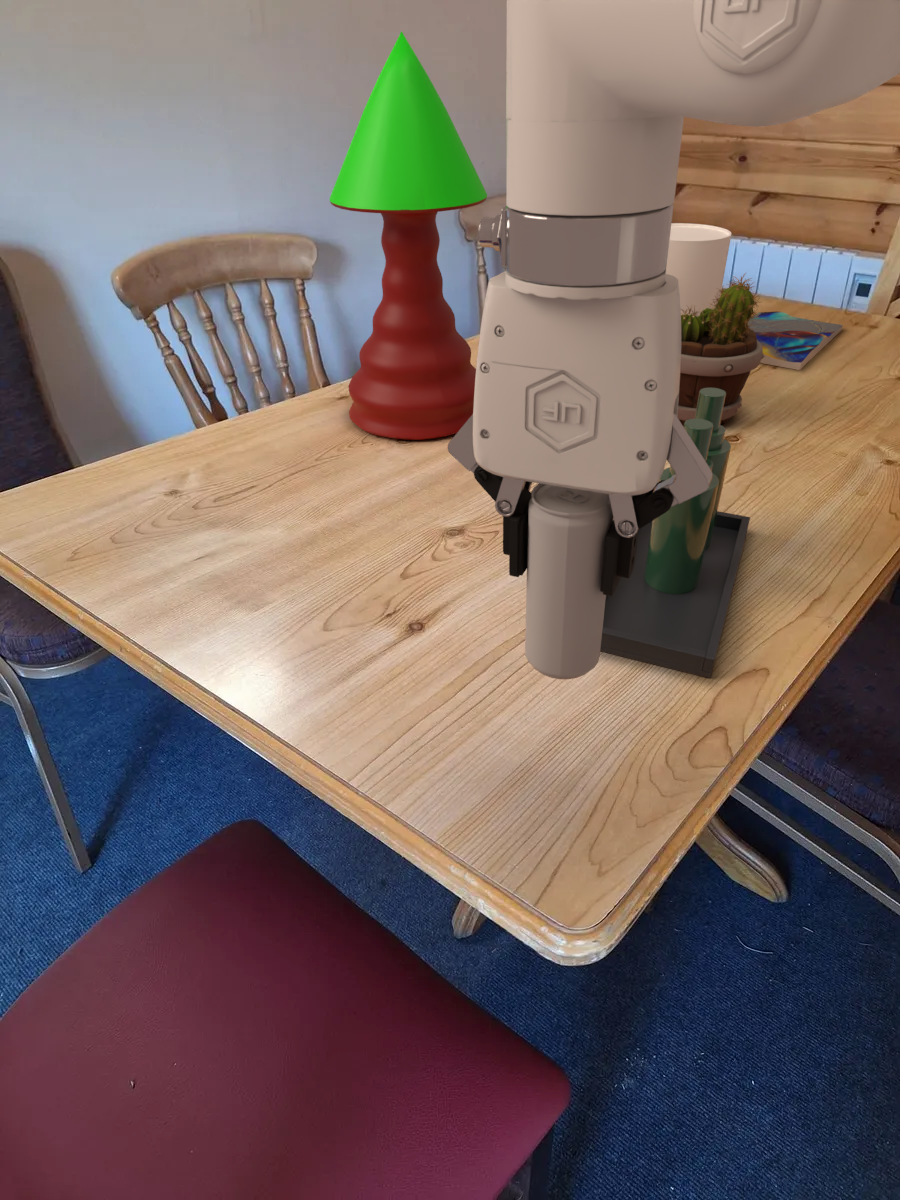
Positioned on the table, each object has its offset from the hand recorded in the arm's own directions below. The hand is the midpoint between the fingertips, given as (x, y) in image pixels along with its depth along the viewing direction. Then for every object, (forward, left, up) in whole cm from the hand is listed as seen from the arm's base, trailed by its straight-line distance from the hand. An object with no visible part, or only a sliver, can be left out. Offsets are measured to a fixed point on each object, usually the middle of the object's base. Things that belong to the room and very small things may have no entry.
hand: (567, 571), depth 47 cm
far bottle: (-3, -36, -17) cm, 40 cm away
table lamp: (+39, -58, -18) cm, 72 cm away
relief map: (-6, -111, -18) cm, 113 cm away
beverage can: (0, 0, -7) cm, 7 cm away
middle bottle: (-3, -28, -17) cm, 33 cm away
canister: (+10, -93, -18) cm, 95 cm away
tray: (-3, -28, -18) cm, 34 cm away
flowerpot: (+2, -72, -18) cm, 74 cm away
